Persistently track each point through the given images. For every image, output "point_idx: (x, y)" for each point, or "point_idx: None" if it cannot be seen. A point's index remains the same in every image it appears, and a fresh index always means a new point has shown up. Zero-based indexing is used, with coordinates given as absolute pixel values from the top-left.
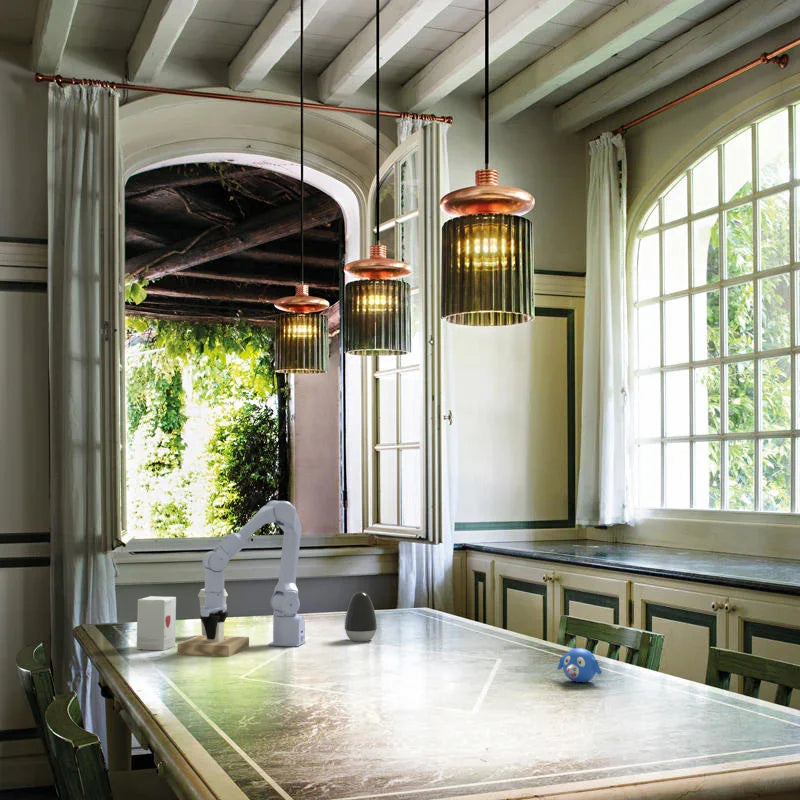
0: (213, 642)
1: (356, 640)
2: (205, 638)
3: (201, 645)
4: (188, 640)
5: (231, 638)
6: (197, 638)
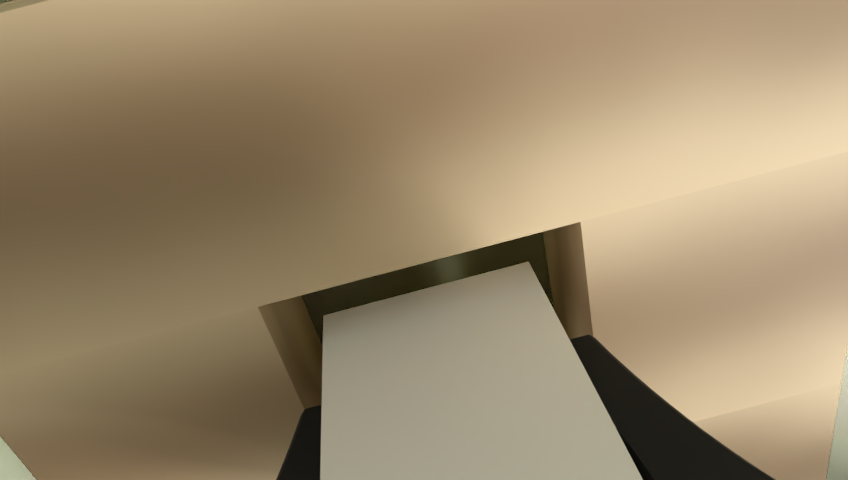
0: None
1: None
2: (569, 165)
3: (35, 465)
4: (210, 13)
5: None
6: (515, 24)
